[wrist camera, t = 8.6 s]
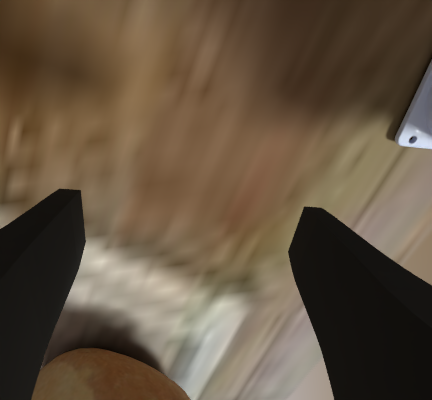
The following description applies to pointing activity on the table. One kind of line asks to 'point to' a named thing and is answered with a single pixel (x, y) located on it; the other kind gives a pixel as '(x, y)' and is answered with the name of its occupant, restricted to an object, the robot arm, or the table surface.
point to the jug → (103, 378)
